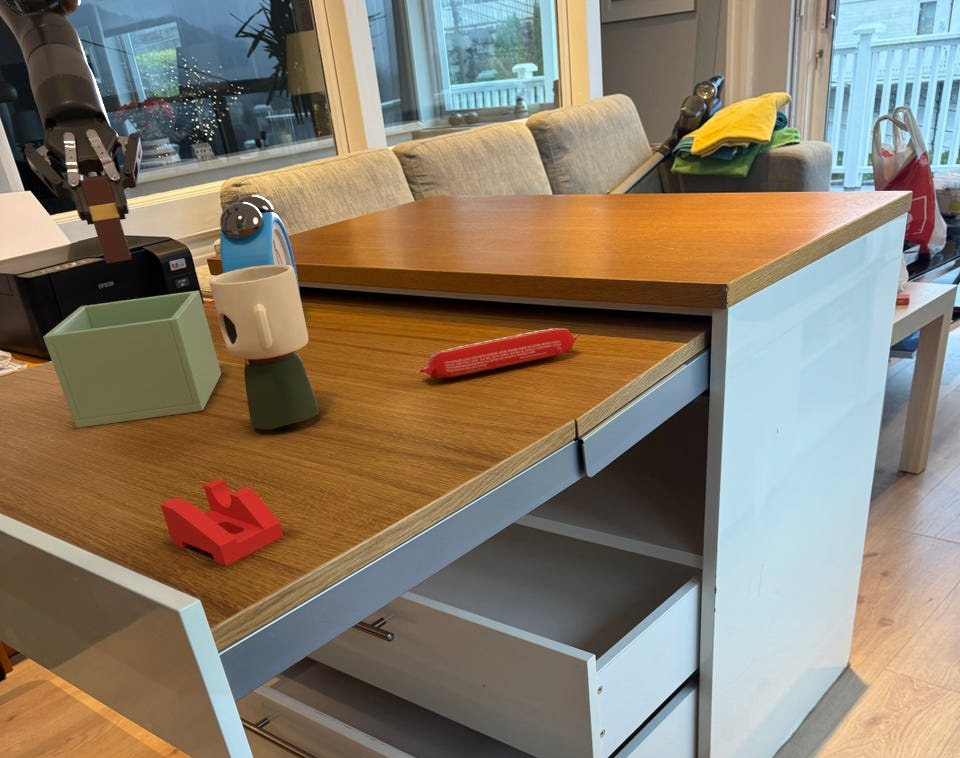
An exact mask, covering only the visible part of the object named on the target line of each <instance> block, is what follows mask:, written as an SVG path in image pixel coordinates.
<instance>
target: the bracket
mask: <svg viewBox="0 0 960 758" xmlns="http://www.w3.org/2000/svg"><path fill="white" fill-rule="evenodd" d="M203 489H204V492H205V496H206V499H207V502H208V504H209V508H210V510H208V511H206V512H203V511H202V510H200V509H199V508H197V506H195V505H194V504H193V503H191V502H190V501H188V500H185V499H182V498H179V497H176V496H175V497H173V498H171V499H169V500H167V501H164V502H162V503H160V504H159V505H160V508H161V511H162V514H163V517H164V520H165V523H166V526H167V530H168V532H169V535H170V539H171V542H172V544H173V545H176V546H178V547H180V548H183V549H184V548H187V547H189V546H193V547H195V548H197V549H199V550H202V551H204V552H207V553H209V554H211V555H212V558H213V561H214V562H216V563H218V564H220V565H223V566H225V567H227V566H229V565H231V564H233V563H234V562H237V561H238V560H241V559H242V558H245V557H246V556H248V555H250V554H252V553H254V552H256V551H259V550H260V549H262V548H265V547H266V546H269V544H272V543H274V542H276V541H277V540H279V539H281V538H284V534H283V530H282V525H281V522H280V520H279V519H278V518H277V517H276V516H275V515H274V514H273V512H272V511H271V510H270V509H269V507H268V506H267V505H266V504H265V503H264V501H263V500H262V499H261V498H260V496H259V495H258V494H257V493H256V491H255V490H254V489H252V488H249V487H243V488H240V489H238V490H236V491H234V492H231V490H230V488H229V485H228V484H227V480H224V479H220V478H217V479H214V480H212V481H209V482H208V483H205V484H203Z"/></svg>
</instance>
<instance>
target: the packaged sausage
mask: <svg viewBox="0 0 960 758" xmlns="http://www.w3.org/2000/svg"><path fill="white" fill-rule="evenodd" d="M579 336H580V334H576V335H574V336H573V335H572V332H570V330H569V329H568V328H565V327H558V328H557V327H555V328H554V327H553V328H546V329H540V330H534V331H529V332H524V333H520V334H519V333H518V334H515V335H510V336H505V337H500V338H495V339H490V340H485V341H480V342H474V343H470V344H465V345H460V346H456V347H451V348H447V349H443V350H440V351H437V352H435V353H433V354H432V355H431V356H430V357H429V359H428V362H427V365H426V367H423V368H421V369H420V373H425V374H426V375H429V376H430V377H431V378H434V379H443V378H454V377H459V376H465V375H470V374H474V373H479V372H484V371H488V370H494V369H498V368H503V367H508V366H512V365H517V364H523V363H527V362H532V361H537V360H542V359H546V358H550V357H555V356H559V355H562V354H564V353H568V352H570V351H571V350H572V349H573V347H574V344H575V342H576V340H577V339H578V338H579Z"/></svg>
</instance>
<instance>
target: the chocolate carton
mask: <svg viewBox="0 0 960 758" xmlns="http://www.w3.org/2000/svg"><path fill="white" fill-rule="evenodd" d="M80 181H81V185H82V187H83V190H84V194H85V197H86V200H87V203H88V206H89V209H90V213H91V216H92V221H93V222H94V224H93V225H94V229H95V232H96V236H97V239H98V243H99V245H100V248H101V251H102V252H101V253H102V255H103V258H104V261H105V263H106V264H113V263H118V262H119V263H120V262H124V261H130V260H132V256H131V252H130V249H129V248H130V247H129V245H128V242H127V239H126V235H125V232H124V228H123V225H122V222H121V220H120V218H119V214H118V211H117V207H116V204H115V201H114V198H113V194H112V191H111V188H110V184H109V181H108V178H107V176H106V175H102V174H101V175H95V176H88V177H83V178H80Z"/></svg>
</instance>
